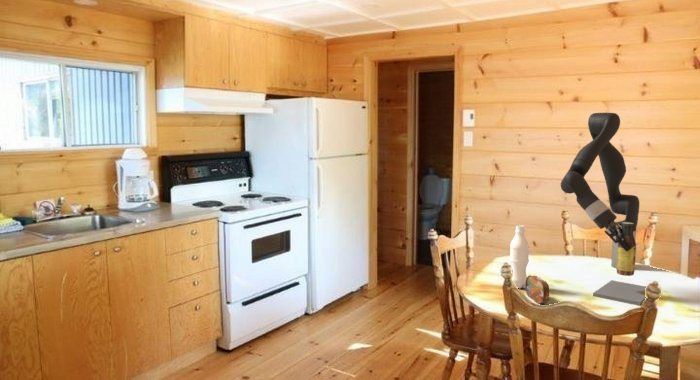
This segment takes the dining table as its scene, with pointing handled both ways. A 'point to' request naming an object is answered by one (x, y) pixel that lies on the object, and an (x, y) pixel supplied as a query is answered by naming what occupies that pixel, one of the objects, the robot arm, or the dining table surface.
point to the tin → (537, 289)
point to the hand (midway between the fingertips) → (631, 248)
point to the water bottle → (519, 257)
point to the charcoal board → (622, 292)
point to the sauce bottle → (626, 257)
